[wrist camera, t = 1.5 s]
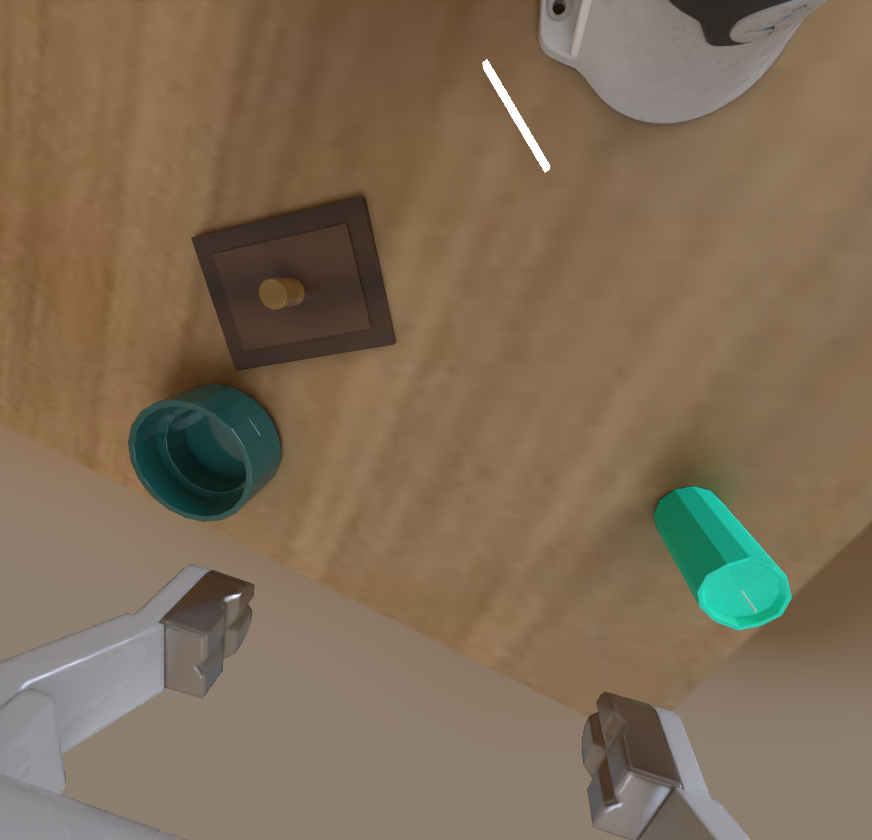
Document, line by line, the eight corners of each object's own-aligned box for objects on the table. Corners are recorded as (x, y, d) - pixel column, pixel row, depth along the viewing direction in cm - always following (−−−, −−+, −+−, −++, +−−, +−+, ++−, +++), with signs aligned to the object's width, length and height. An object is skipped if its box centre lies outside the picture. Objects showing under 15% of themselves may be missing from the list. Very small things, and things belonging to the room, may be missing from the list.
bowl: (157, 391, 45) (107, 409, 40) (262, 374, 43) (225, 391, 37) (198, 495, 49) (159, 525, 43) (297, 485, 46) (268, 516, 41)
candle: (718, 543, 41) (796, 649, 30) (650, 541, 42) (700, 642, 31) (729, 486, 39) (816, 577, 28) (657, 485, 40) (713, 572, 29)
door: (197, 238, 39) (160, 235, 35) (365, 197, 36) (346, 189, 32) (240, 368, 43) (211, 380, 39) (396, 342, 39) (383, 352, 35)
